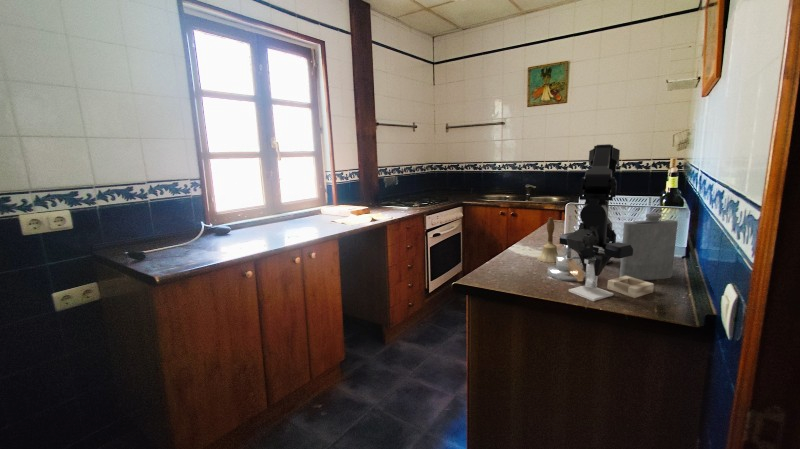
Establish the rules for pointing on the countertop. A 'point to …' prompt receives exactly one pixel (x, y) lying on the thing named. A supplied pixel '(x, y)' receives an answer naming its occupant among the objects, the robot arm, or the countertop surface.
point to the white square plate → (590, 292)
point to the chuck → (570, 264)
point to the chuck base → (562, 273)
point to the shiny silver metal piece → (590, 273)
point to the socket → (630, 286)
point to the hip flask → (649, 248)
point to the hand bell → (549, 245)
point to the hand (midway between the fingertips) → (591, 274)
